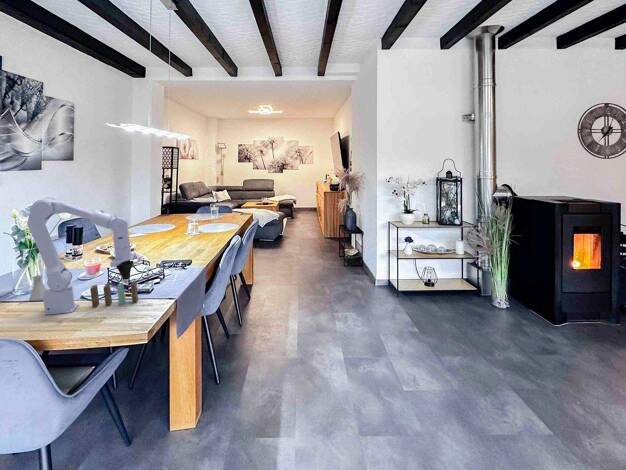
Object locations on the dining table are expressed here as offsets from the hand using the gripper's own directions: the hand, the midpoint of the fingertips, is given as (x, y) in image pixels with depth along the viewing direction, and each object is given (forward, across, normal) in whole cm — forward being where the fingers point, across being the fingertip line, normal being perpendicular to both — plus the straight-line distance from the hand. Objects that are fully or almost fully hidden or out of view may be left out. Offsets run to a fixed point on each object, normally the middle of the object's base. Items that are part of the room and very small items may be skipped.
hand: (126, 279), depth 152 cm
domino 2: (+10, -3, +7) cm, 13 cm away
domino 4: (+10, +1, -2) cm, 10 cm away
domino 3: (+10, -1, +2) cm, 10 cm away
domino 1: (+10, -5, +11) cm, 16 cm away
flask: (+10, 0, +40) cm, 41 cm away
